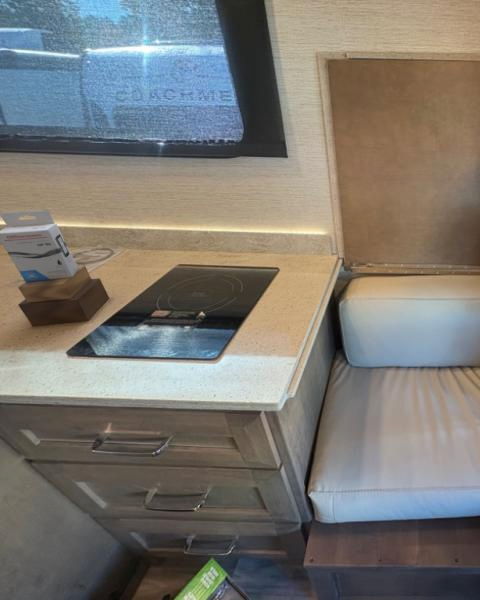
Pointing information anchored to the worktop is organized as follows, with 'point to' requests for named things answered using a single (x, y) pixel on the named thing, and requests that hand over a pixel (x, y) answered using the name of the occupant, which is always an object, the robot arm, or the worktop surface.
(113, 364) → the worktop surface
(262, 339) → the worktop surface
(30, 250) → the ink box
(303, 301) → the worktop surface
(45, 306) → the box stack
